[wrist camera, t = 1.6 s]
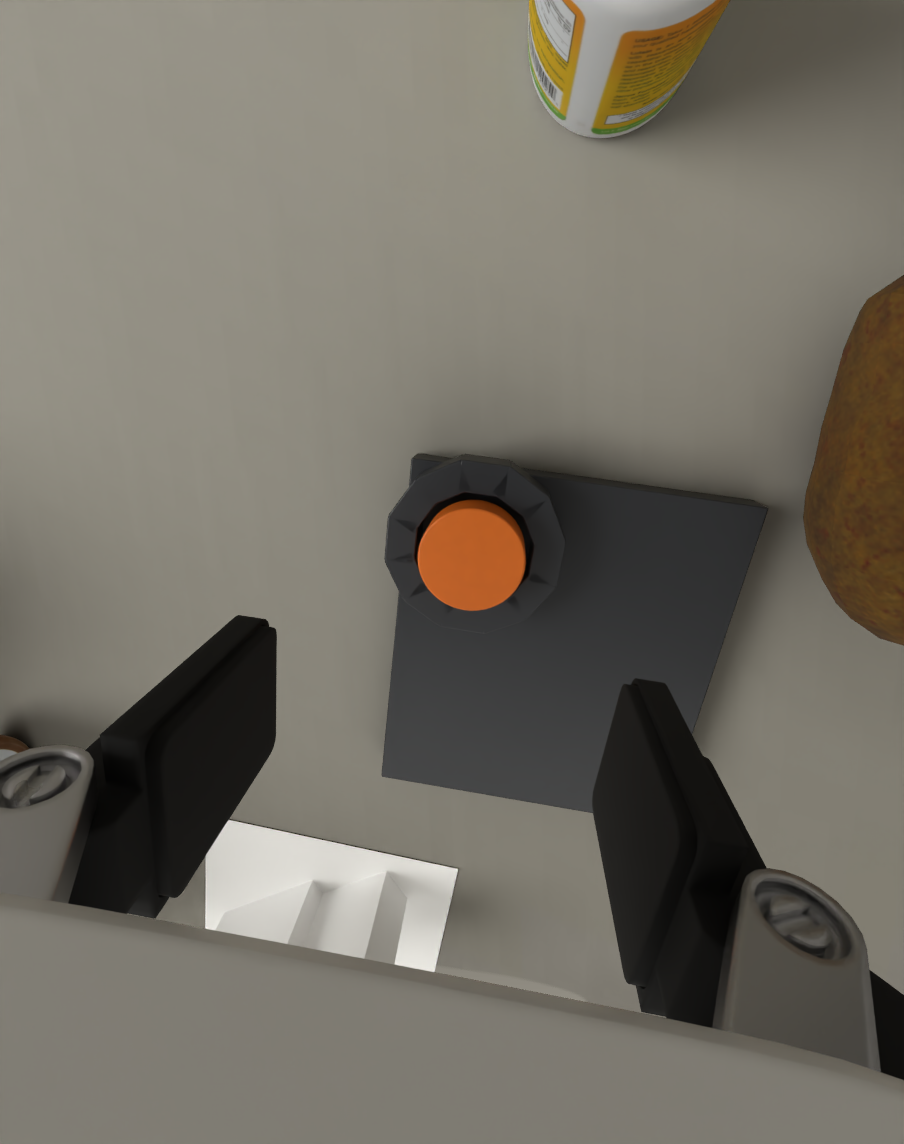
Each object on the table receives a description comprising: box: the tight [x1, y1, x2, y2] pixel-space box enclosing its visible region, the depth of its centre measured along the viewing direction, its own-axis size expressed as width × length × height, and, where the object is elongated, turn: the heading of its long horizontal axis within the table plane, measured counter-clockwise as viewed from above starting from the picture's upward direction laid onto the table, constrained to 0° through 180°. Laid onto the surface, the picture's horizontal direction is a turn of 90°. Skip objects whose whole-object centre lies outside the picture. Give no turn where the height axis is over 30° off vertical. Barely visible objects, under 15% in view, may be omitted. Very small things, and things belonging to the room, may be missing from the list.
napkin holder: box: [205, 820, 458, 972], centre depth 30 cm, size 15×11×6 cm
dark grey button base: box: [382, 454, 768, 813], centre depth 24 cm, size 16×14×3 cm
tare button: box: [418, 500, 526, 611], centre depth 20 cm, size 4×4×2 cm
